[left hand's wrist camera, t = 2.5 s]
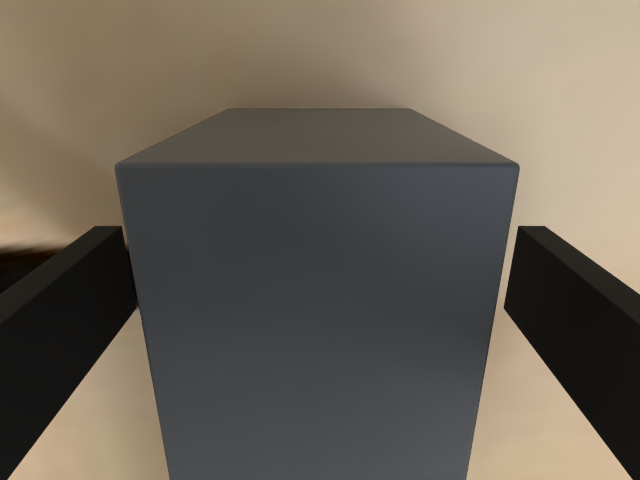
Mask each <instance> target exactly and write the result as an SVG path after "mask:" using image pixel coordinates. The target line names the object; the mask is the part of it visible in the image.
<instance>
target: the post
mask: <svg viewBox="0 0 640 480" xmlns="http://www.w3.org/2000/svg"><path fill="white" fill-rule="evenodd" d="M519 170H520V168H519V164H518V163H516V162H514V161H512V160H510V159H508V158H506V157H504V156H502V155H500V154H498V153H496V152H494V151H492V150H490V149H488V148H486V147H484V146H482V145H480V144H478V143H476V142H474V141H472V140H470V139H468V138H466V137H465V136H463V135H461V134H459V133H457V132H455V131H453V130H451V129H449V128H447V127H445V126H443V125H441V124H439V123H437V122H435V121H433V120H431V119H429V118H427V117H425V116H423V115H421V114H419V113H417V112H415V111H413V110H411V109H227V110H225V111H223V112H221V113H219V114H217V115H215V116H213V117H211V118H209V119H207V120H205V121H203V122H200V123H198V124H196V125H194V126H192V127H190V128H188V129H186V130H184V131H182V132H180V133H178V134H176V135H174V136H172V137H170V138H168V139H166V140H164V141H162V142H159V143H157V144H155V145H153V146H151V147H149V148H147V149H145V150H143V151H141V152H139V153H137V154H135V155H133V156H131V157H129V158H127V159H125V160H123V161H121V162H118V163H116V165H115V174H116V179H117V185H118V190H119V196H120V202H121V207H122V213H123V219H124V224H125V230H126V235H127V241H128V247H129V252H130V258H131V264H132V269H133V275H134V280H135V286H136V292H137V297H138V303H139V309H140V314H141V320H142V325H143V331H144V337H145V342H146V348H147V354H148V359H149V365H150V370H151V376H152V382H153V387H154V393H155V399H156V404H157V410H158V415H159V421H160V427H161V432H162V438H163V444H164V449H165V455H166V460H167V466H168V472H169V477H170V480H466V477H467V471H468V465H469V459H470V453H471V448H472V442H473V436H474V430H475V425H476V419H477V413H478V407H479V401H480V396H481V390H482V384H483V378H484V372H485V367H486V361H487V355H488V349H489V344H490V338H491V332H492V326H493V320H494V315H495V309H496V303H497V297H498V291H499V286H500V280H501V274H502V268H503V262H504V257H505V251H506V245H507V239H508V234H509V228H510V222H511V216H512V210H513V205H514V199H515V193H516V187H517V181H518V176H519Z"/></svg>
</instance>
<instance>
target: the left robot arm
mask: <svg viewBox="0 0 640 480" xmlns="http://www.w3.org/2000/svg"><path fill="white" fill-rule="evenodd" d="M135 309H136V303H135V298H134V292H133V287H132V281H131V276H130V270H129V264H128V259H127V253H126V248H125V242H124V237H123V231H122V226H95V227H93V228H92V229H91V230H89V231H88V232H86V233H85V234H84V235H82V236H81V237H80V238H78V239H77V240H75V241H74V242H73V243H71V244H70V245H68V246H67V247H66V248H64V249H63V250H61V251H60V252H59V253H57V254H56V255H55V256H53V257H52V258H50V259H49V260H48V261H46V262H45V263H43V264H42V265H41V266H39V267H38V268H36V269H35V270H34V271H32V272H31V273H29V274H28V275H27V276H25V277H24V278H23V279H21V280H20V281H18V282H17V283H16V284H14V285H13V286H11V287H10V288H9V289H7V290H6V291H4V292H3V293H2V294H0V480H7V479H8V478H9V477H10V475H11V474H12V473H13V471H14V470H15V469H16V467H17V466H18V465H19V463H20V462H21V461H22V459H23V458H24V457H25V455H26V454H27V453H28V451H29V450H30V449H31V447H32V446H33V445H34V443H35V442H36V441H37V439H38V438H39V437H40V435H41V434H42V433H43V431H44V430H45V429H46V428H47V426H48V425H49V424H50V422H51V421H52V420H53V418H54V417H55V416H56V414H57V413H58V412H59V410H60V409H61V408H62V406H63V405H64V404H65V402H66V401H67V400H68V398H69V397H70V396H71V394H72V393H73V392H74V390H75V389H76V388H77V386H78V385H79V384H80V382H81V381H82V380H83V378H84V377H85V376H86V374H87V373H88V372H89V370H90V369H91V368H92V366H93V365H94V364H95V362H96V361H97V360H98V358H99V357H100V356H101V355H102V353H103V352H104V351H105V349H106V348H107V347H108V345H109V344H110V343H111V341H112V340H113V339H114V337H115V336H116V335H117V333H118V332H119V331H120V329H121V328H122V327H123V325H124V324H125V323H126V321H127V320H128V319H129V317H130V316H131V315H132V313H133V312H134V311H135ZM504 309H505V311H506V312H507V313H508V315H509V316H510V317H511V319H512V320H513V321H514V323H515V324H516V325H517V327H518V328H519V329H520V331H521V332H522V333H523V335H524V336H525V337H526V339H527V340H528V341H529V343H530V344H531V345H532V347H533V348H534V349H535V351H536V352H537V353H538V354H539V356H540V357H541V358H542V360H543V361H544V362H545V364H546V365H547V366H548V368H549V369H550V370H551V372H552V373H553V374H554V376H555V377H556V378H557V380H558V381H559V382H560V384H561V385H562V386H563V388H564V389H565V390H566V392H567V393H568V394H569V396H570V397H571V398H572V400H573V401H574V402H575V404H576V405H577V406H578V408H579V409H580V410H581V412H582V413H583V414H584V416H585V417H586V418H587V420H588V421H589V422H590V424H591V425H592V426H593V428H594V429H595V430H596V431H597V433H598V434H599V435H600V437H601V438H602V439H603V441H604V442H605V443H606V445H607V446H608V447H609V449H610V450H611V451H612V453H613V454H614V455H615V457H616V458H617V459H618V461H619V462H620V463H621V465H622V466H623V467H624V469H625V470H626V471H627V473H628V474H629V475H630V477H631V478H632V479H633V480H640V294H638V293H637V292H636V291H634V290H633V289H631V288H630V287H629V286H627V285H626V284H624V283H623V282H622V281H620V280H619V279H617V278H616V277H615V276H613V275H612V274H611V273H609V272H608V271H606V270H605V269H604V268H602V267H601V266H599V265H598V264H597V263H595V262H594V261H592V260H591V259H590V258H588V257H587V256H585V255H584V254H583V253H581V252H580V251H579V250H577V249H576V248H574V247H573V246H572V245H570V244H569V243H567V242H566V241H565V240H563V239H562V238H560V237H559V236H558V235H556V234H555V233H554V232H552V231H551V230H549V229H548V228H547V227H545V226H518V231H517V237H516V242H515V248H514V253H513V259H512V264H511V270H510V276H509V281H508V287H507V292H506V298H505V303H504Z"/></svg>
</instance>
